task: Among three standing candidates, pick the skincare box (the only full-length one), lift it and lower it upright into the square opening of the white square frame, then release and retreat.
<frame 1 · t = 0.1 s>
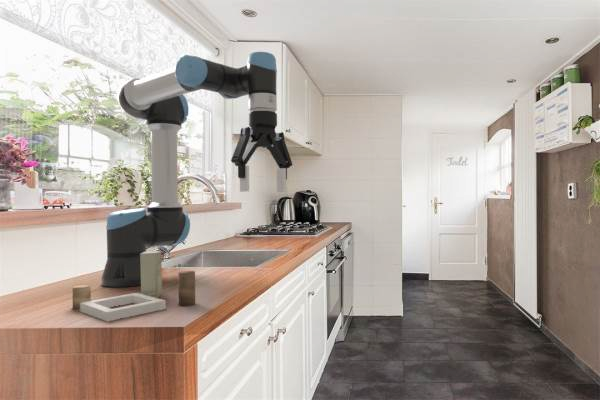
hand: (263, 191, 116), 28 cm above the countertop, fingers open, 13 cm apart
skincare box: (151, 297, 117), on the countertop
white square frame: (123, 310, 103), on the countertop
short oak dowel: (81, 307, 106), on the countertop
mid walnut dowel: (187, 304, 108), on the countertop
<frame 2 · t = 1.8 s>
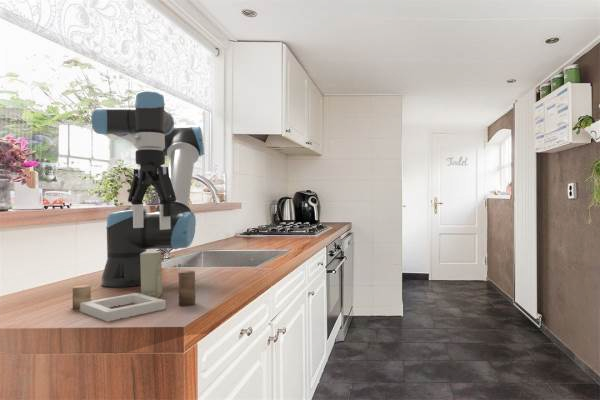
hand: (151, 228, 117), 18 cm above the countertop, fingers open, 13 cm apart
nothing on the countertop moved.
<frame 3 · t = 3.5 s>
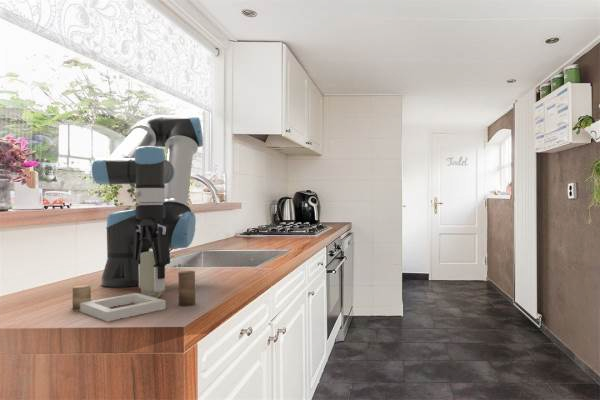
hand: (151, 288, 117), 2 cm above the countertop, fingers closed on skincare box, 7 cm apart
skincare box: (151, 297, 117), on the countertop, touching gripper
everything else where it was.
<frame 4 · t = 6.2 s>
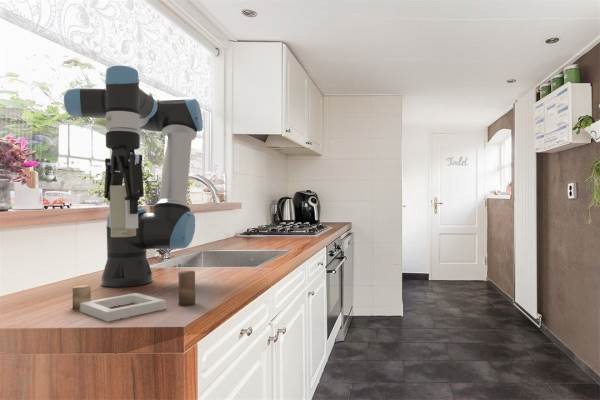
hand: (123, 227, 104), 19 cm above the countertop, fingers closed on skincare box, 7 cm apart
skincare box: (123, 237, 104), point 17 cm above the countertop, touching gripper
everything else where it was.
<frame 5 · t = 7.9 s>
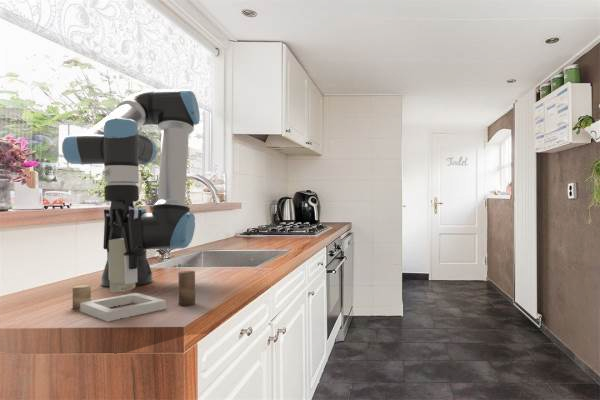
hand: (122, 280, 103), 7 cm above the countertop, fingers closed on skincare box, 7 cm apart
skincare box: (122, 290, 103), point 5 cm above the countertop, touching gripper
everything else where it was.
when the fingers open (4 cm above the countertop, at t = 8.9 s): skincare box drops 1 cm, resting in white square frame.
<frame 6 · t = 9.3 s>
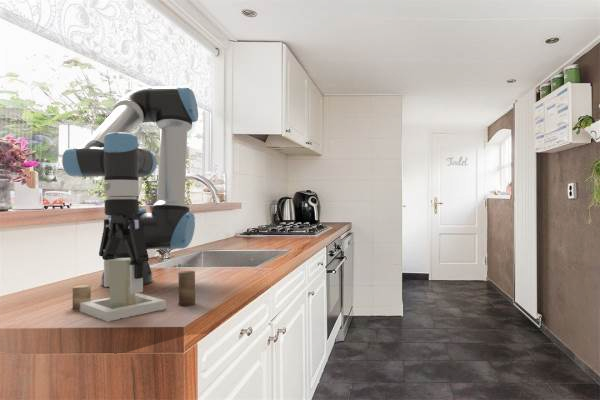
hand: (122, 289, 103), 5 cm above the countertop, fingers open, 12 cm apart
skincare box: (122, 310, 103), resting in white square frame
everything else where it was.
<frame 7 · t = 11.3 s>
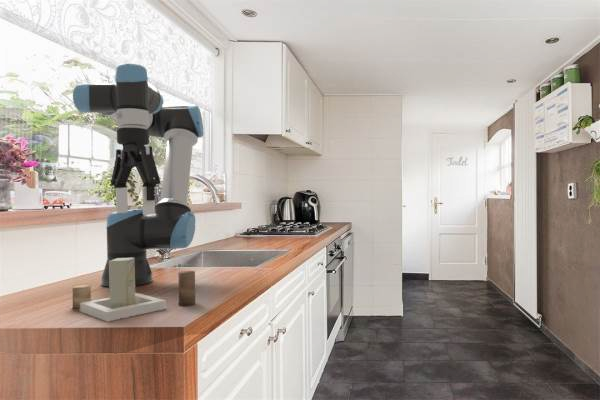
hand: (134, 213, 109), 23 cm above the countertop, fingers open, 13 cm apart
nothing on the countertop moved.
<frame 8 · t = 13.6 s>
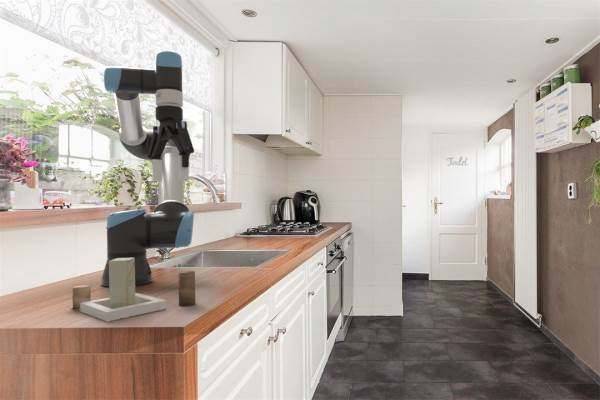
hand: (170, 180, 125), 32 cm above the countertop, fingers open, 13 cm apart
nothing on the countertop moved.
at the end: skincare box inside the target area on the white square frame (0.2 cm from its centre), point 0.0 cm above the white square frame's base; skincare box tilted 0°; the gripper is holding nothing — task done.
